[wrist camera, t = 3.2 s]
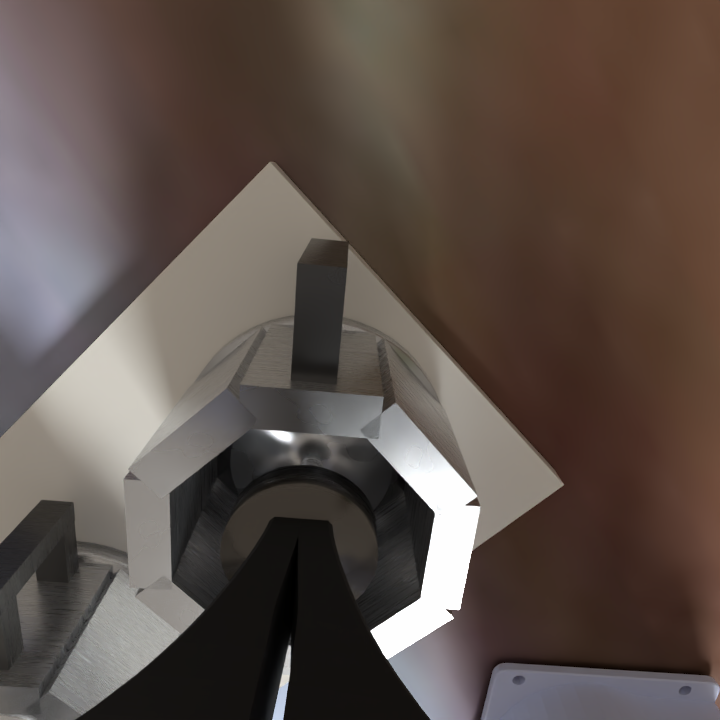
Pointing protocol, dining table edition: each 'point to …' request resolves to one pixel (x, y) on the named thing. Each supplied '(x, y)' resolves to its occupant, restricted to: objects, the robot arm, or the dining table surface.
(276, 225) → the serving board
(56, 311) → the dining table surface
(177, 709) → the robot arm
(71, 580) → the far pot
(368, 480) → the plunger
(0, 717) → the cylinder
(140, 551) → the near pot
